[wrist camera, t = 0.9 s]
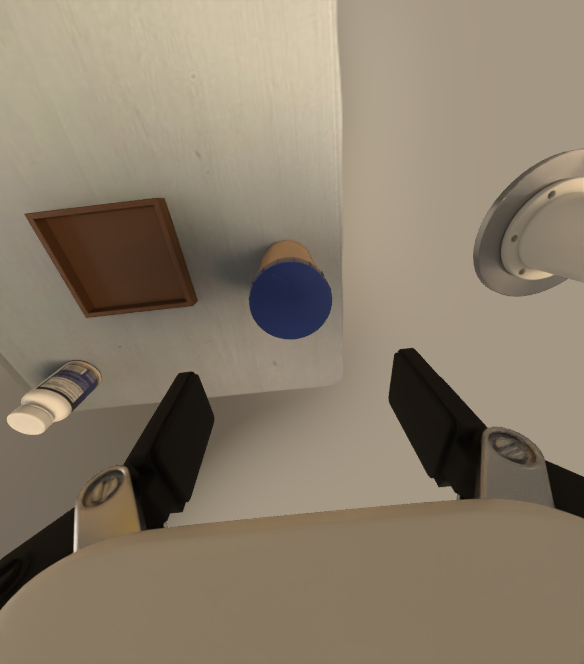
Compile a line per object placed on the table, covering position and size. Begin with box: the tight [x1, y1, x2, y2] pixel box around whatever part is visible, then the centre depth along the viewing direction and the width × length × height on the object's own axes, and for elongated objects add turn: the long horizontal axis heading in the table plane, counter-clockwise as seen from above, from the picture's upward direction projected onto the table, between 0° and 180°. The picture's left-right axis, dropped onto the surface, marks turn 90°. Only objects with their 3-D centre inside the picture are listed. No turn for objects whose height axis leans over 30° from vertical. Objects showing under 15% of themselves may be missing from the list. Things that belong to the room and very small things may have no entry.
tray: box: [24, 198, 198, 318], centre depth 28 cm, size 14×12×2 cm
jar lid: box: [249, 257, 332, 339], centre depth 20 cm, size 7×7×2 cm
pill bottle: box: [7, 361, 101, 435], centre depth 33 cm, size 5×5×10 cm
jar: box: [258, 240, 318, 273], centre depth 25 cm, size 7×7×12 cm
